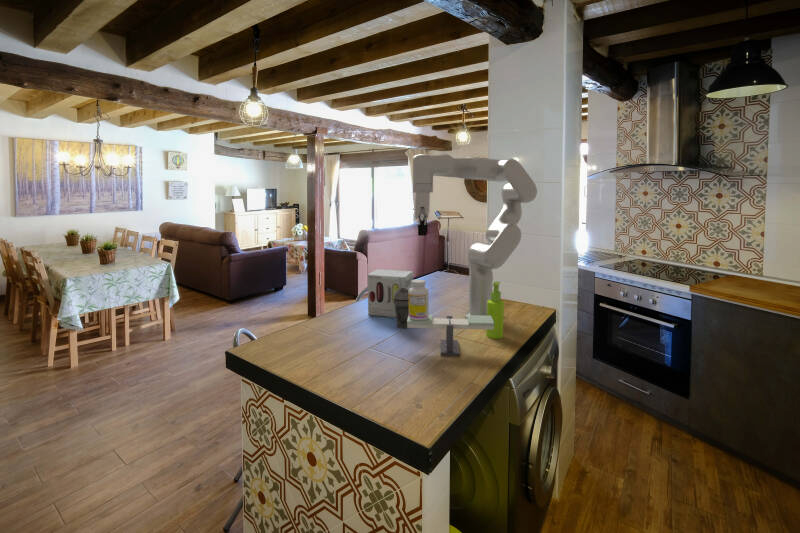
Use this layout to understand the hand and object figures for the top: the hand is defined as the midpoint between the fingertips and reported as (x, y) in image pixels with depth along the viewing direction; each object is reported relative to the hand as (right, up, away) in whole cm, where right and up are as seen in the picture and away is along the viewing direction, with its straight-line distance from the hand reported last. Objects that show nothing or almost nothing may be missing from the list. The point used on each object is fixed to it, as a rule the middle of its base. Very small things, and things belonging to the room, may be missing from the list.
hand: (422, 234), depth 158 cm
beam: (+8, -31, -20) cm, 38 cm away
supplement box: (-13, -33, +23) cm, 42 cm away
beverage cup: (-8, -36, +5) cm, 37 cm away
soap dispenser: (+26, -38, -6) cm, 47 cm away
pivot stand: (+8, -40, -19) cm, 45 cm away
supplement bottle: (-3, -30, -20) cm, 36 cm away
